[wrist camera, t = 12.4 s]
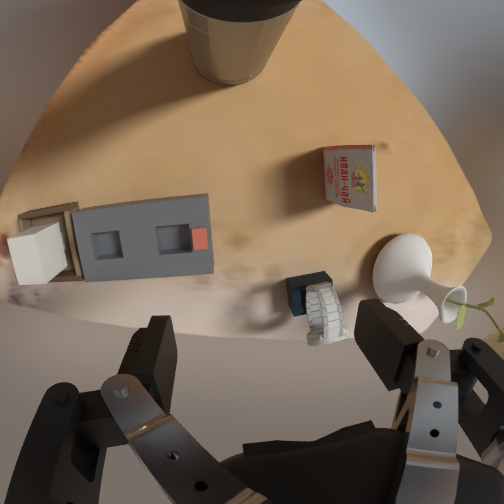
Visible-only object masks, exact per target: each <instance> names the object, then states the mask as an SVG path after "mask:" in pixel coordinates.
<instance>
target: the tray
mask: <svg viewBox="0 0 504 504" xmlns="http://www.w3.org/2000/svg"><path fill="white" fill-rule="evenodd" d="M78 210H79V206H78V202H72V203H67V204H61V205H56V206H51V207H46V208H41V209H36V210H31V211H28V212H25V213H22V214H20V215H18V221H19V227H20V232H22V231H24V230H26V229H28V228H31V227H34V226H39V225H45V224H50V223H56V222H59V227H60V233H63V238H64V243H65V248H66V249H65V250H64V252H65V256H66V261H67V265H68V266H67V267H66V268H64V269H63V270H62V271H61V272H60V273H58V274H57V275H56V276H55V277H54V278H53V279H51V280H50V281H49V282H63V281H82V280H83V279H84V278H85V277H84V273H83V269H82V264H81V260H80V256H79V251H78V246H77V241H76V236H75V230H74V224H73V218H72V213H73V212H76V211H78Z"/></svg>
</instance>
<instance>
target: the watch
mask: <svg viewBox="0 0 504 504" xmlns="http://www.w3.org/2000/svg"><path fill="white" fill-rule="evenodd" d="M286 280H287V290H288V300H289V307H290V309H291V311H292V313H293V315H294V317H295V316H300V315H304V314H307V318H308V322H309V327H310V331H309V332H308V334H307V340H308V342H307V344H308V345H311V346H317V345H325V344H330V343H334V342H337V341H340V340H343V339H345V338H346V337H347V334H346V333H349V328H348V327H344V322H343V314H342V313H341V312H342V309H341V305H340V302H339V299H338V297H337V294H336V292H335V290H334V288H333V285H332V279H331V278H330V277H329V276H328V274H327V273H326V272H325V271H322V272H317V273H312V274H307V275H301V276H296V277H291V278H286ZM334 311H335V312H334ZM330 312H331V313H330ZM324 316H325V317H324ZM317 317H318V318H317ZM313 318H314V319H313Z"/></svg>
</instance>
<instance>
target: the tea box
mask: <svg viewBox="0 0 504 504" xmlns="http://www.w3.org/2000/svg"><path fill="white" fill-rule="evenodd" d="M322 151H323V168H324V190H325V199H326V200H329V201H331V202H334V203H336V204H338V205H341V206H343V207H349V208H355V209H360V210H365V211H370V212H373V211H375V212H376V158H375V145H343V146H330V147H322Z"/></svg>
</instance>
